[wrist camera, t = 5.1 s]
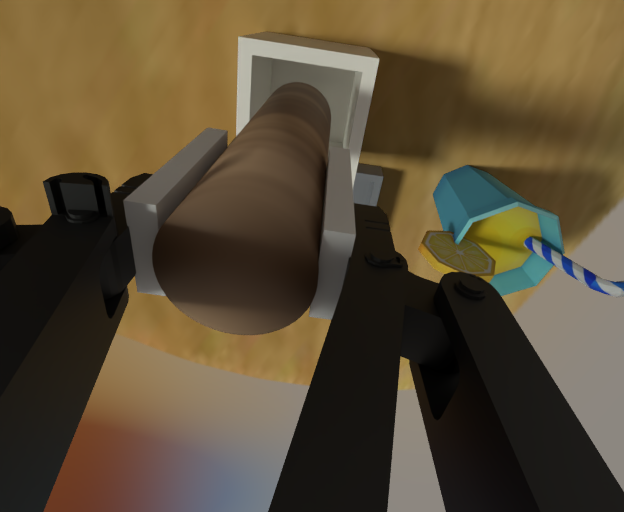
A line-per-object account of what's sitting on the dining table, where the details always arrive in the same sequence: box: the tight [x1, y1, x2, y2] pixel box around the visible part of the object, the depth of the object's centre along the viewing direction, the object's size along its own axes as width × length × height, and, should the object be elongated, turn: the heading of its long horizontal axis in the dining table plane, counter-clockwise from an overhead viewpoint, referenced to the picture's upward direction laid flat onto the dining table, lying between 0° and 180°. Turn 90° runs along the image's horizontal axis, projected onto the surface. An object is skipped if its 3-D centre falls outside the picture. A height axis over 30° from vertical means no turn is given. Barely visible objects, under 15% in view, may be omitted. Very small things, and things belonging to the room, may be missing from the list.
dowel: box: [152, 82, 331, 335], centre depth 16 cm, size 4×4×16 cm
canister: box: [236, 32, 379, 187], centre depth 27 cm, size 8×8×9 cm
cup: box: [418, 165, 624, 297], centre depth 28 cm, size 14×8×15 cm, turn 94°
